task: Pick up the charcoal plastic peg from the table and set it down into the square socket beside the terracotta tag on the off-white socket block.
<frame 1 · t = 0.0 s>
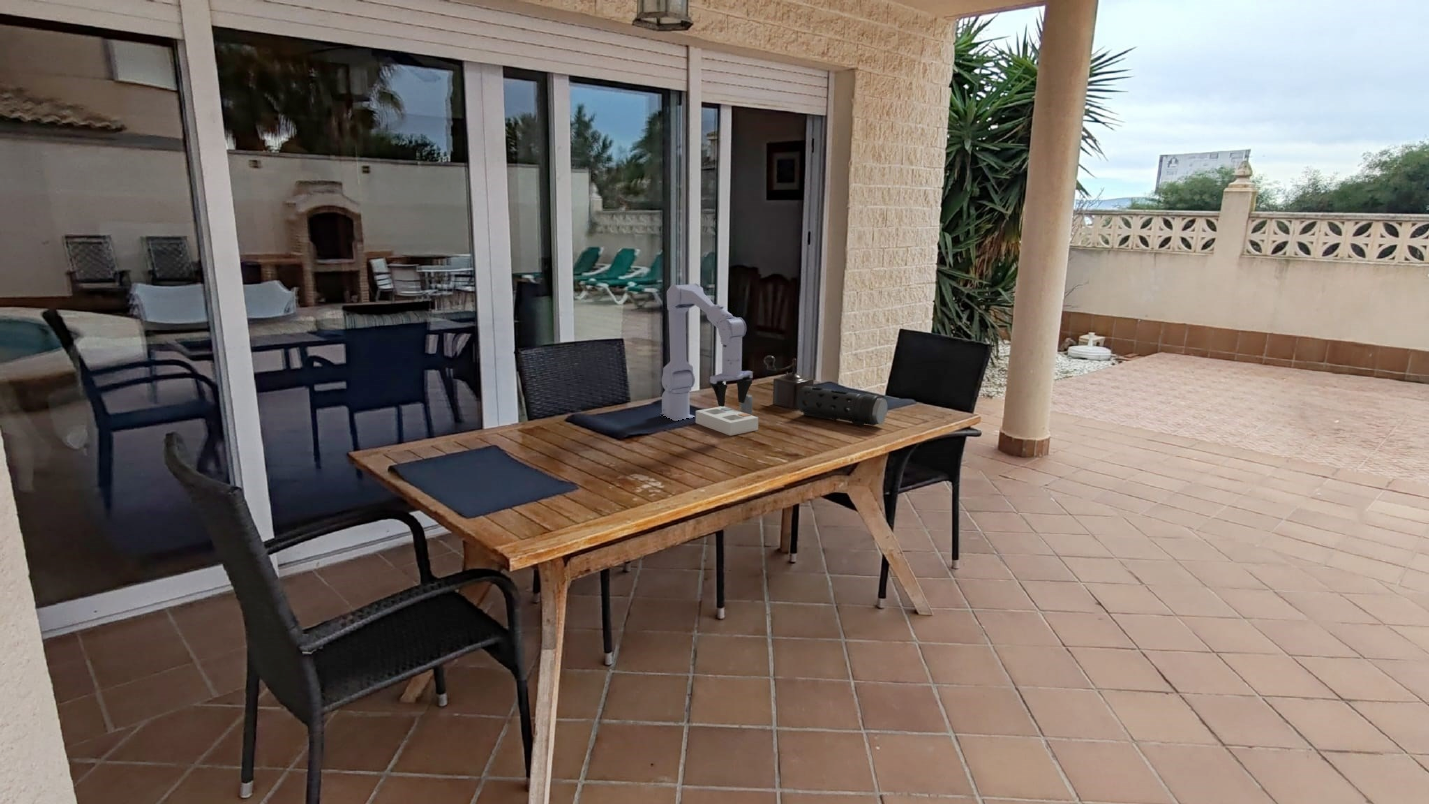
hand: (731, 404, 228), 10 cm above the table, fingers open, 7 cm apart
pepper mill: (787, 406, 268), on the table
socket block: (726, 426, 241), on the table
peg: (746, 419, 250), on the table
muzzle brake: (841, 422, 248), on the table
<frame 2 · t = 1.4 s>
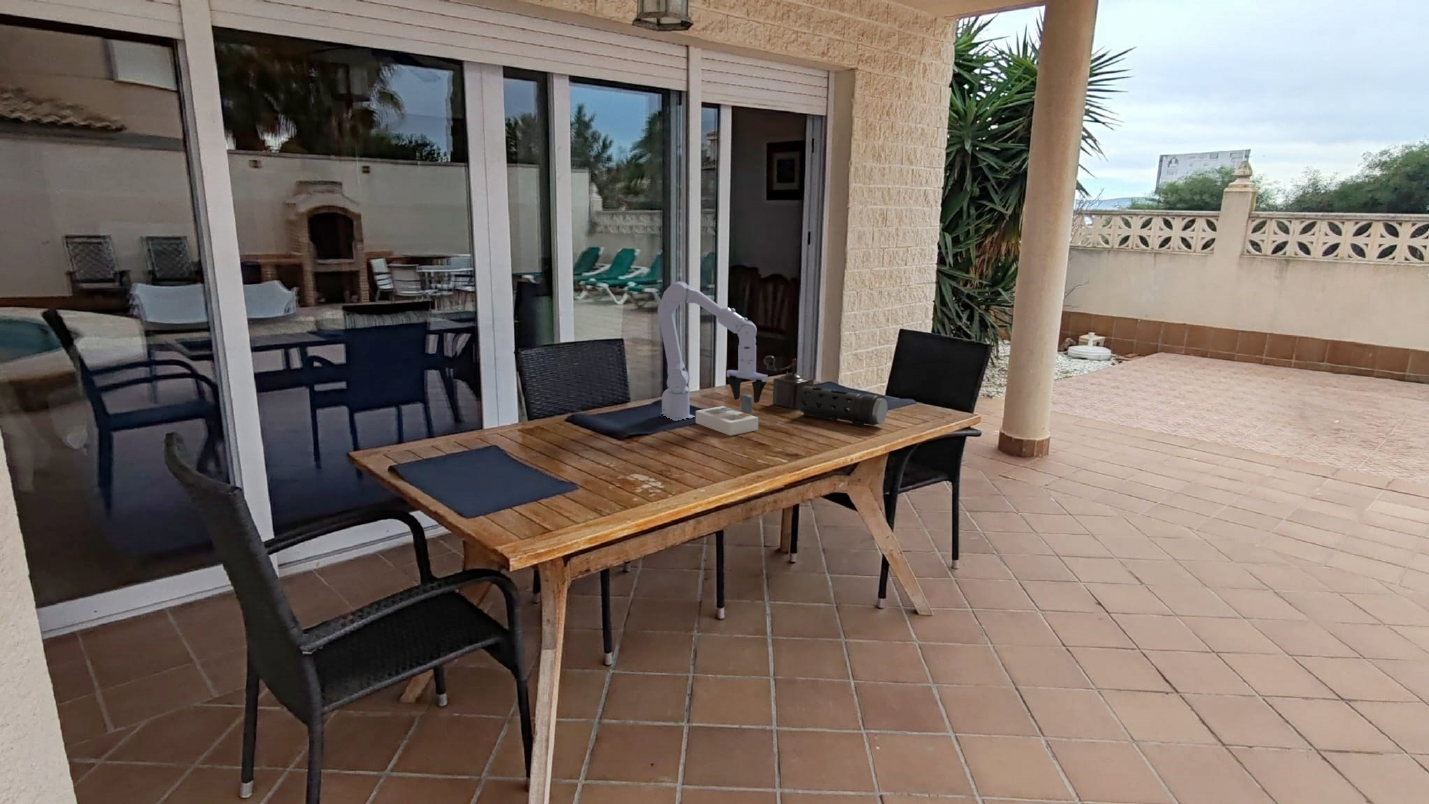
hand: (746, 400, 248), 6 cm above the table, fingers open, 7 cm apart
nothing on the table moved.
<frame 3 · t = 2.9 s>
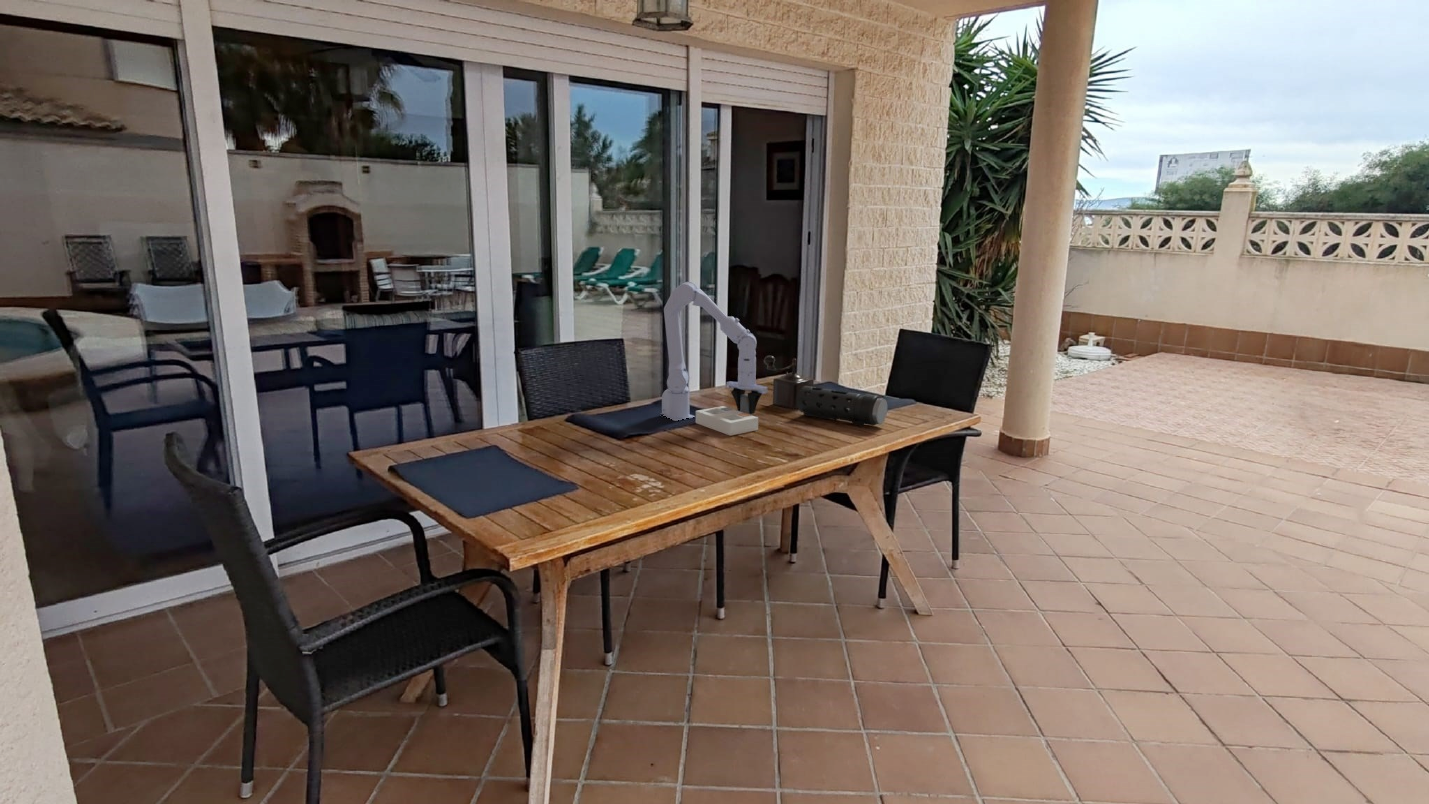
hand: (746, 412, 249), 2 cm above the table, fingers closed on peg, 4 cm apart
peg: (746, 419, 250), on the table, touching gripper
everything else where it was.
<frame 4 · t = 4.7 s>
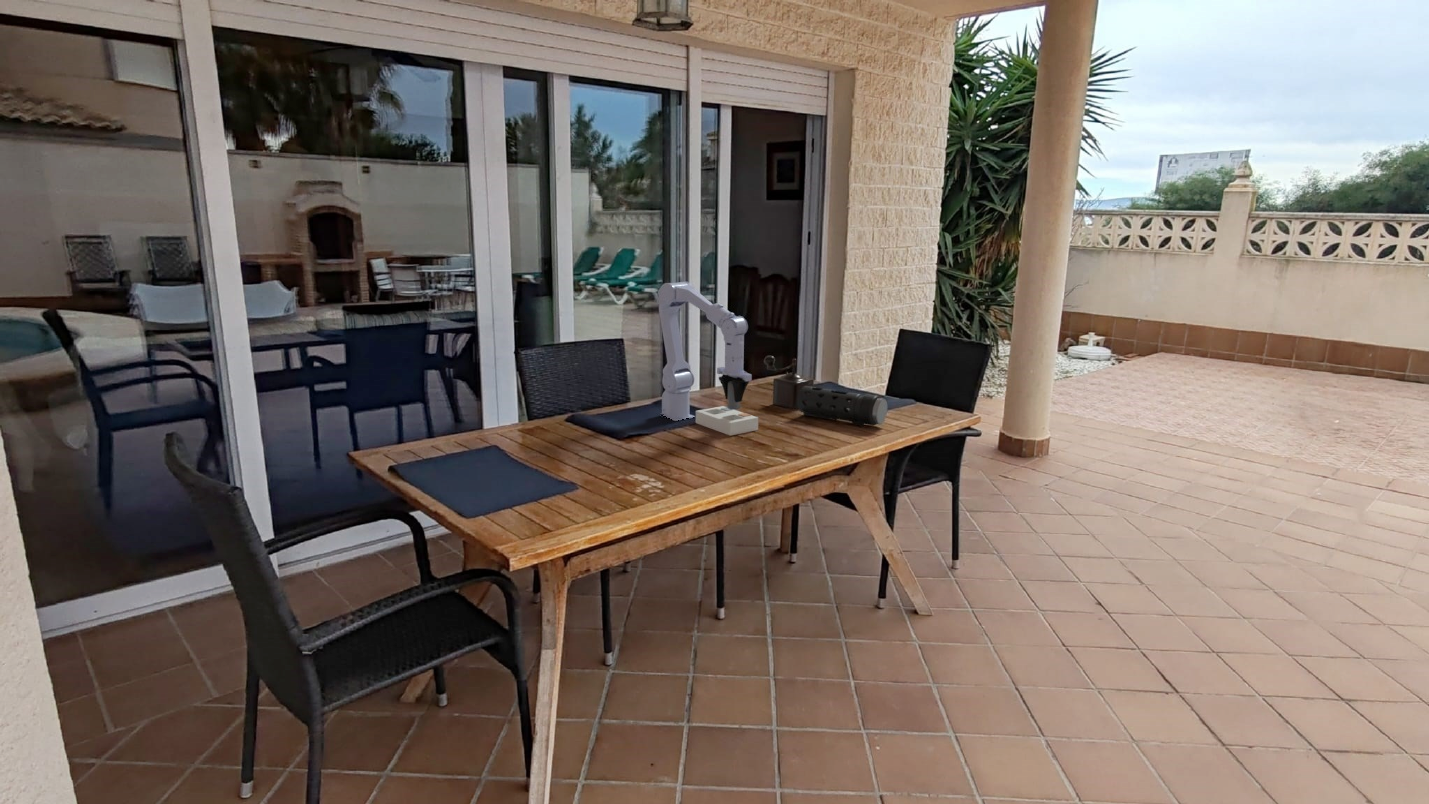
hand: (733, 400, 235), 9 cm above the table, fingers closed on peg, 4 cm apart
peg: (733, 407, 236), point 7 cm above the table, touching gripper
everything else where it was.
when the fingers open (5 cm above the table, at t = 6.6 s): peg drops 2 cm, resting on socket block.
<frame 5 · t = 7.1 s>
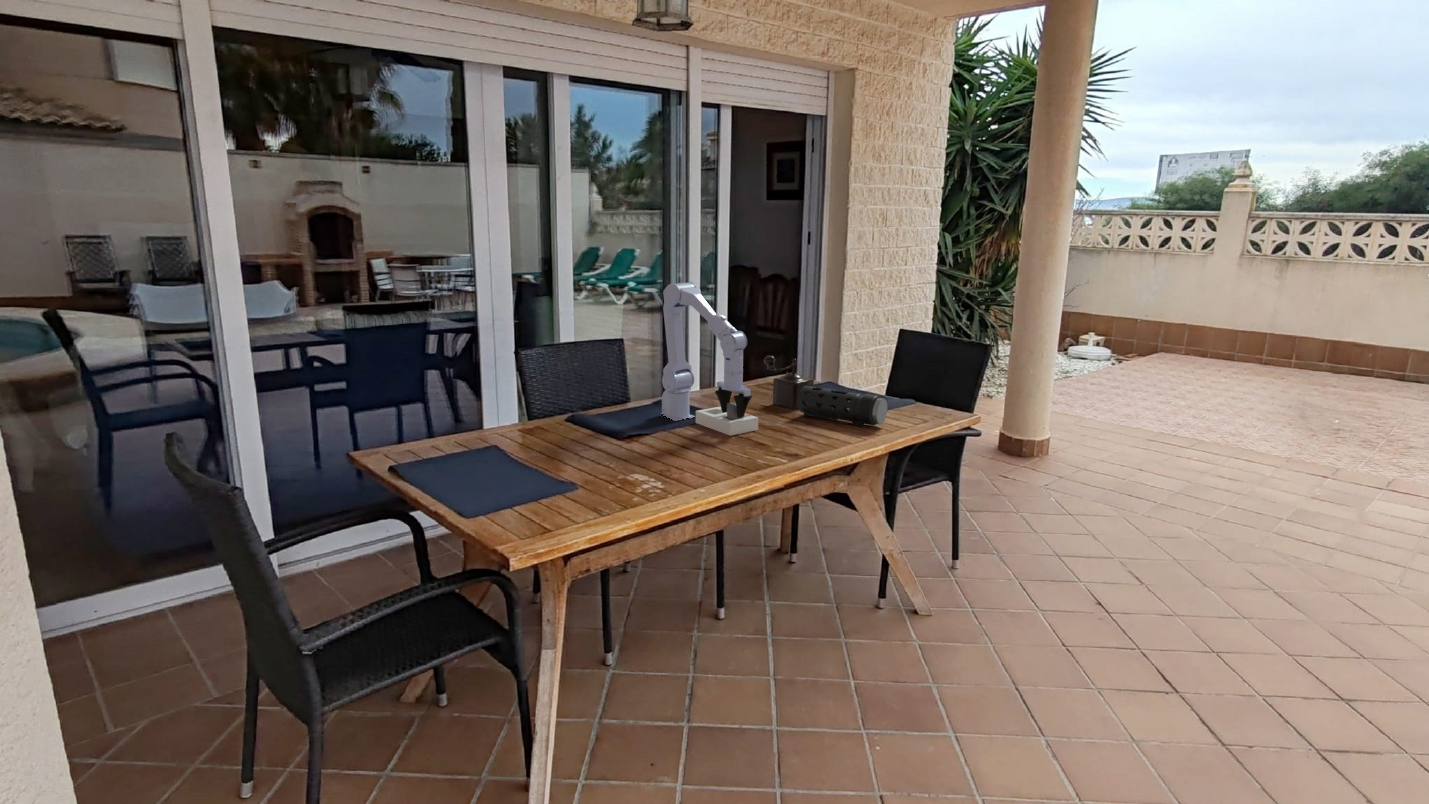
hand: (732, 414, 236), 5 cm above the table, fingers open, 7 cm apart
peg: (733, 429, 237), resting on socket block
everything else where it was.
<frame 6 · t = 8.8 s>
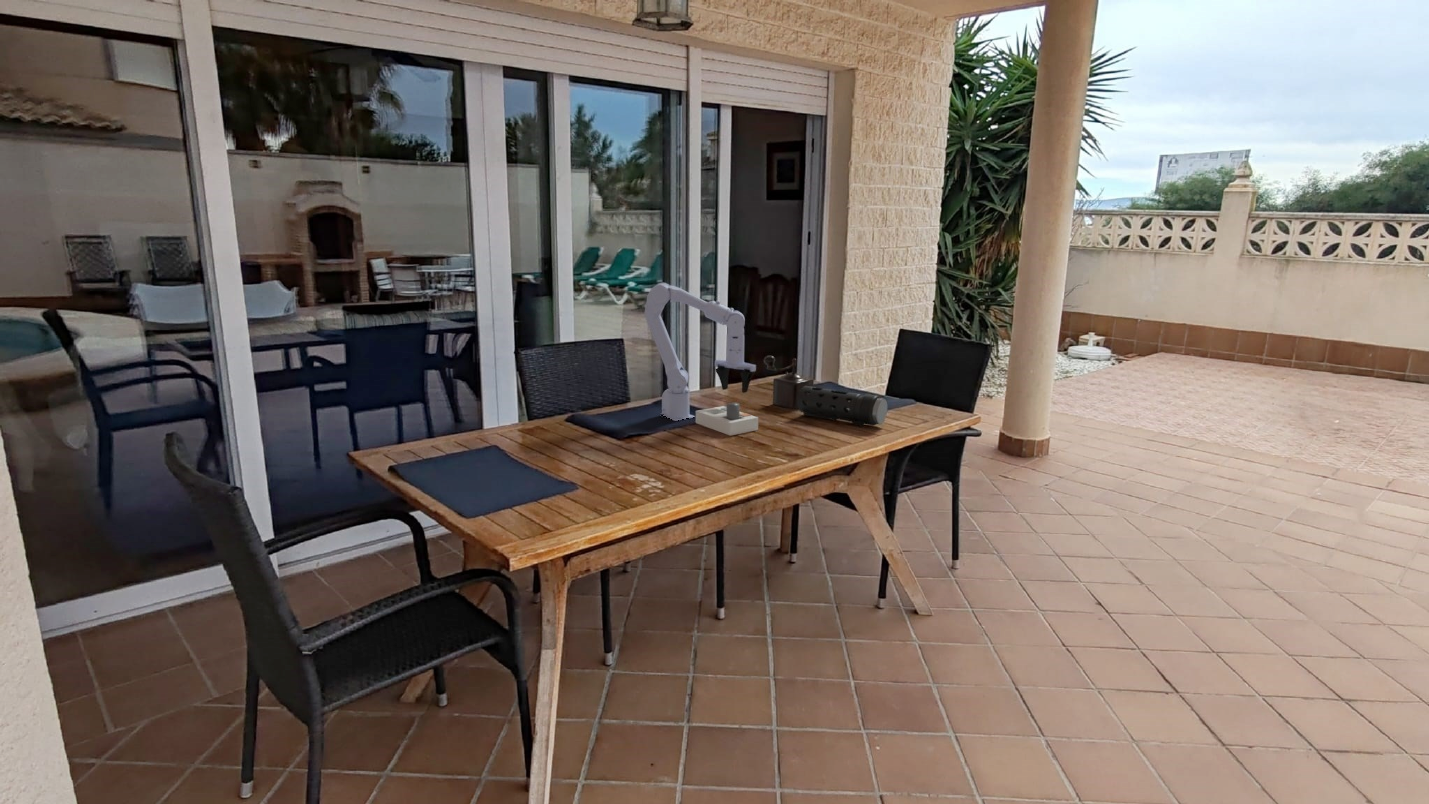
hand: (734, 390, 248), 9 cm above the table, fingers open, 7 cm apart
nothing on the table moved.
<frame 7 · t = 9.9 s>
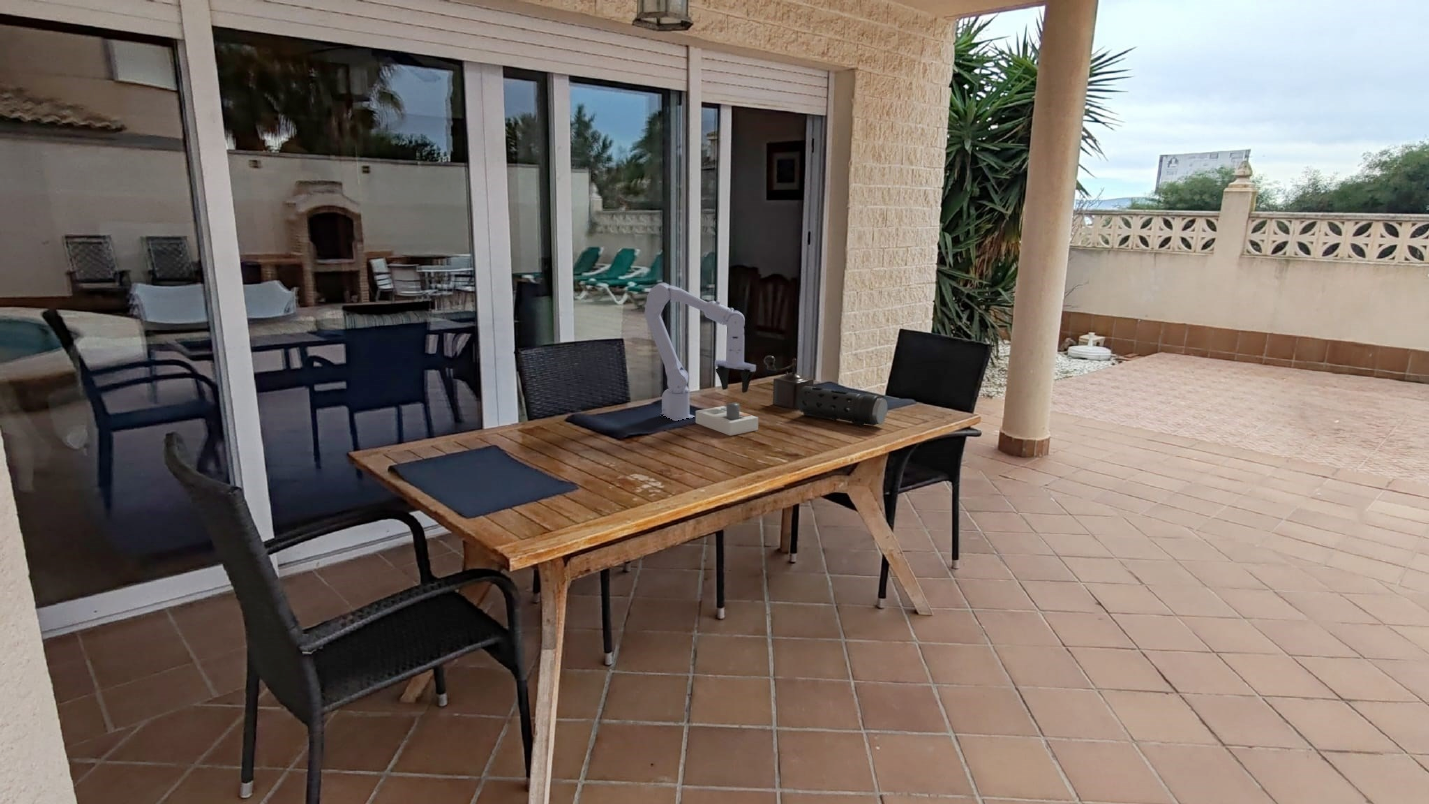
hand: (734, 390, 248), 9 cm above the table, fingers open, 7 cm apart
nothing on the table moved.
at the end: peg 0.1 cm from the target spot on the socket block, point 0.3 cm above the socket block's base; peg tilted 1°; the gripper is holding nothing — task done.
